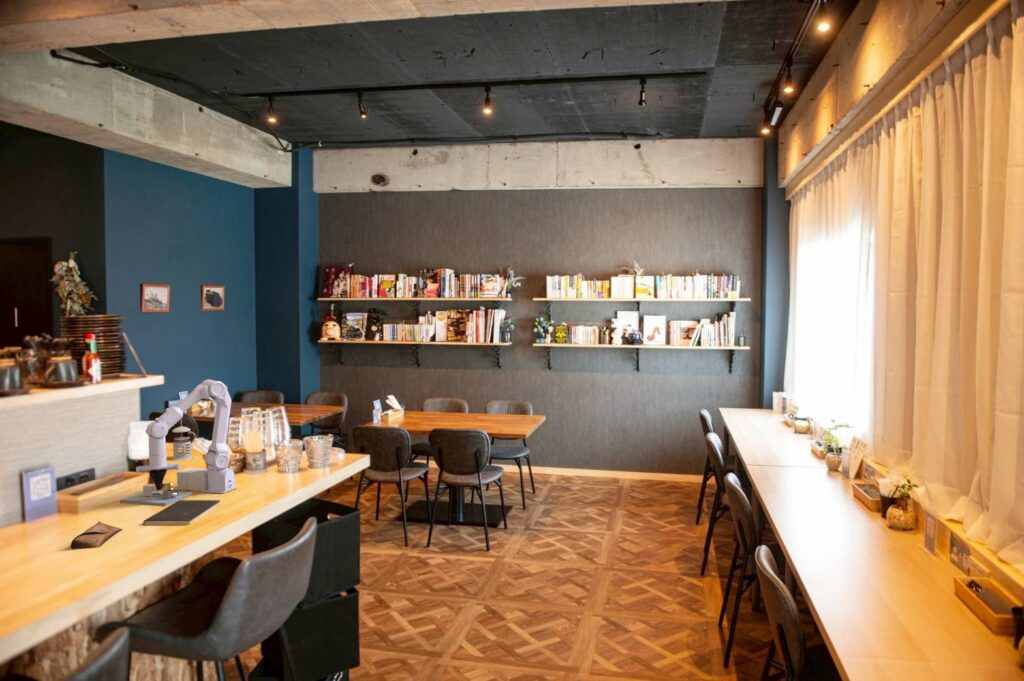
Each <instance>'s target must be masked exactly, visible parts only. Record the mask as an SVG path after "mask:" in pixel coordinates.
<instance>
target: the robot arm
mask: <svg viewBox="0 0 1024 681" xmlns="http://www.w3.org/2000/svg"><path fill="white" fill-rule="evenodd" d="M209 398H210V399H212V401H213V402H214V403H215V404H216V407H215V414H214V415H215V416H214V423H213V430H212V437H211V438H212V439H211V443H210V445H209V446H208V450H207V452H206V454H205V455H204V462H205V464H206V465H207V468H206V469H207V470H208V489H206V490H204V491H202V492H203V493H212V494H213V493H214V494H215V493H216V494H225V493H228V492H230V491H232V490H235V489H237V486H235V485H236V484H235V472H234V470H233V469H232V468H228V465H229V464H230V456H229V449H228V446H227V440H228V439H227V438H228V432H229V423H230V415H231V407H232V397H231V396H230V393H229V391H228V386H227V385H226V384H224V382H222V381H220V380H213V379H211V378H210V379H208V378H207V379H205V380H203V381H202V382H201V383H199V384H198V385H197V386H196V387H195V388H194V389H193V390H192V391H191V392H190V393H189V394H188V395H187V396H186V397H185V398H184V399H183V400H182V401H181V402H180V403H178V404H177V406H170V407H167V408H166V409H165V410H164V411H165V412H163V414H161V415H160V416H159V417H155V419H154V420H155V421H151V422H150V423H148V424H147V426H146V429H145V433H146V434H147V436H148V458H149V459H148V460H149V461H148V462H149V464H147V465H139V466H136V467H135V471H136V473H141V472H142V473H143V472H149V476H150V477H151V479H152V481H153V484H155V486H156V490H160V491H162V490H161V489H162V483H164V479H165V476H166V475H167V471H172V470H174V471H180V469H181V466H180V464H181V463H167V445H166V444H167V443H166V436H167V435H168V433H169V430H170V429H171V428H172V427H173V426H175V425H176V424H177V423H179V421H181V420H182V419H183V418H184V417H183V416H184V413H185V412H186V411H187V410H189V409H190V408H191V407H192V406H194V405H195V404H196V403H197V402H198V401H199V400H203V399H209Z"/></svg>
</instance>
